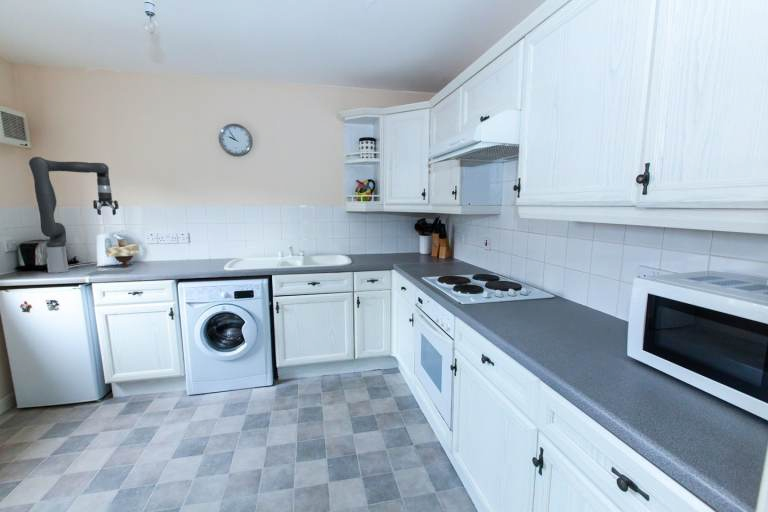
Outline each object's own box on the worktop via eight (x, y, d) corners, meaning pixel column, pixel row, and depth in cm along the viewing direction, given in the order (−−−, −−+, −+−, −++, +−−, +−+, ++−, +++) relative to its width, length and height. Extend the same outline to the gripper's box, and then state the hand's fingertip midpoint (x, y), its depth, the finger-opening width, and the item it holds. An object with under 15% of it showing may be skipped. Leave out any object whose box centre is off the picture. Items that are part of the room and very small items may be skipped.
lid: (107, 256, 241) (104, 241, 239) (116, 252, 255) (114, 238, 252) (131, 255, 245) (129, 240, 243) (139, 251, 259) (137, 237, 257)
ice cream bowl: (117, 267, 254) (115, 246, 251) (135, 266, 258) (133, 246, 256) (113, 269, 244) (111, 248, 242) (132, 268, 249) (130, 248, 247)
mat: (84, 275, 223) (84, 275, 223) (96, 271, 237) (96, 270, 237) (127, 274, 230) (127, 273, 230) (136, 270, 244) (136, 269, 244)
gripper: (89, 191, 240) (92, 215, 243) (114, 192, 244) (116, 215, 247) (95, 192, 247) (97, 214, 250) (118, 192, 251) (120, 214, 254)
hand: (107, 214), depth 248 cm, fingers open, 8 cm apart
